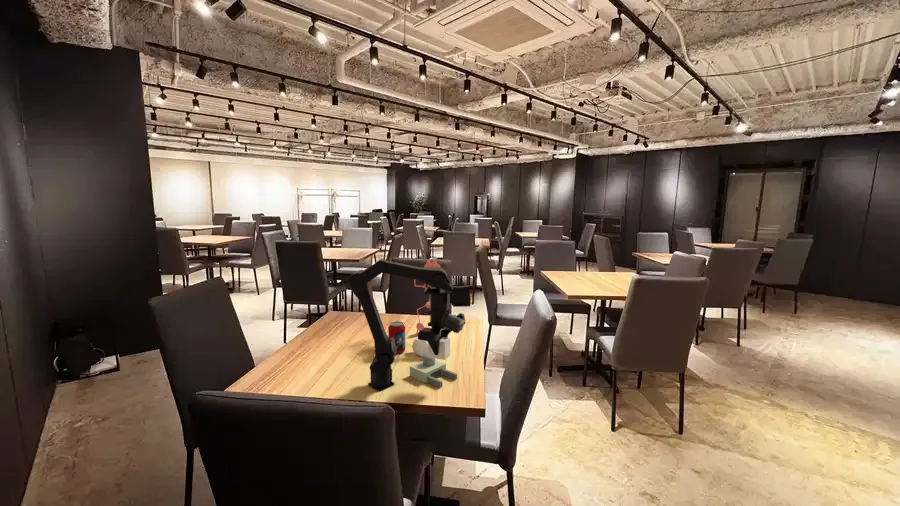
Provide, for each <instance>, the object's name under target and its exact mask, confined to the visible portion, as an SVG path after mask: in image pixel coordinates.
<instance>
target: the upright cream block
mask: <svg viewBox="0 0 900 506" xmlns="http://www.w3.org/2000/svg"><path fill="white" fill-rule="evenodd" d="M428 348H429V357H431V358H435V360H443V361H446V360H447V359H448V358H450V357H451V338H450V337H447V338H446V337H443V338H442V339H441V340H440V345H439V353H438V355H435V354H434V352H433V350H432V349H431V347H430V345H429V343H428Z"/></svg>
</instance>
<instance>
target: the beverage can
mask: <svg viewBox="0 0 900 506" xmlns="http://www.w3.org/2000/svg"><path fill="white" fill-rule="evenodd" d="M387 336H388V337H389V338H392V337H394V341H395V344H396V346H397V350H396V355H400V354H402V353H404V352H405V351H406V326H405V324H404V322H403V321H398V320H397V321H393V322H390V324H389V325H388V335H387Z"/></svg>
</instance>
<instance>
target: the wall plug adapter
mask: <svg viewBox="0 0 900 506" xmlns="http://www.w3.org/2000/svg"><path fill="white" fill-rule="evenodd" d="M409 376H410V377H412V378H414V379H416V380H418V381H420V382H422V383H424V384H426V383H428V384H431V385H432V386H435V387H438V388H439V389H441V388H443V380H441V379H438V378H439V377H441V376H444V377H447V378H448V379H451V380H453V379H454V381H456V379H457V380H458V373H456V372H453V371H451V370H449V369H447V364H446V363H445V362H442V361H439V360H438V359H436V358H431V357H429V354H425V355H423V357H422V360H421V361H419V362H416V363H415V364H412V365H410V366H409Z"/></svg>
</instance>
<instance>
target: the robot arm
mask: <svg viewBox="0 0 900 506" xmlns="http://www.w3.org/2000/svg"><path fill="white" fill-rule="evenodd" d="M447 273H448V272H446V270H445V269H444V268H442V267H441V266H440V267H424V266H423V267H422V266H421V267H420V266H415V265H410V264H405V263H400V262H396V261H392V260H387V259H386V258H385V259H384V258H381V259H378V260H377V261H376V262H375V263H373V264H372V265H370V266H369V267H367V268H366V269H359V270H357V271H355V272H354V273H353V274H352V275H350V277H349V278H348V281H347V282H348V286H349V288H350V290H351V291H352V293H353V295H354V296H355V297H356V299H357V300H358V301H359V302H360V305H361V309H362V310H363V311H362V312H363V314H364V316H365V319H366V322H367V325H368V327H369V330H370V334H371V336H372V338H373V341H374V354H375V355H374V357H373V358H372V360H371V364H370V365H369V370H370V372H369V373H370V382H368V383H367V386H369V387H370V388H372V389H374V390H376V391H377V392H381V391H383V390H385V389H388V388H389V387H392V386H394V385H395V382H394V381H393V369H392V364H393V363H394V361H395V358H396V355H397V354H396V350H397V346H396V344H395V341H394V337H392V338H389V337H388V335H387V332H386V330H385V329H386V328H385V327H384V324H383V322H382V318H381V315H380V312H379V309H378V307H377V304H376V301H375V299H374V296H373V284H372V280H374V279H375V278H377V277H378V276H379V275H381V274H386V275H391V276H392V275H393V276H397V277H402V278H406V279H410V280H411V279H412V280H414V279H415V281H419V282H422V283H423V284H426V285H427V287H426V288H427V289H426V288H424V292H423V294H424V295H429V298H430V308H429V309H428V310H427V314H428V315H429V316H430V317H429V322H427V327H425V326H424V328H423V329H422V330H420V331H419V330H418V333H417V338H418V340H424V341H427V342H428V343H429V345H430V347H431V349H432V350H433V352H434V354H435V355H438V353H439V345H440V340H441V339H442V338H443V337H446V338H449V334H450V333H452V332H453V333H454V334H459V333H460V332H461V331H463V328H464V326H465V325H466V318H465V317H466V316H465V314H464V313H462V312H460V313H458V314H452V311H451V309H450V308H449V307H448V306H449V305H450V304H451V306H452V307H455V308H458V307H460V308H461V307H462V308H464V307H466V308H467V307H471V295H470V294H471V292H470V286H469V285H468V284H467V285H466V284H465V285H453V283H452V282H451V281H450V280H449V279H448V274H447ZM428 285H429V286H428ZM430 286H431V287H430ZM434 287H435V288H434ZM448 295H449V303H448ZM448 304H449V305H448Z"/></svg>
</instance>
